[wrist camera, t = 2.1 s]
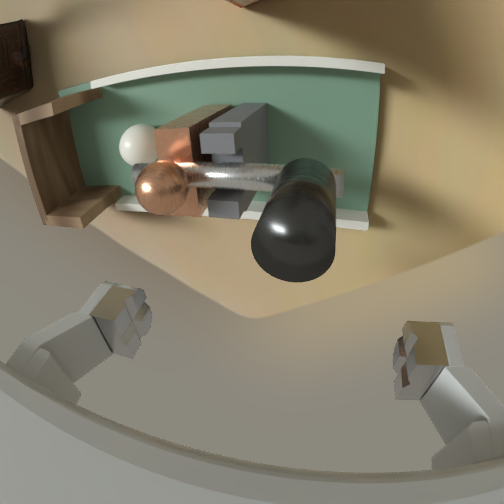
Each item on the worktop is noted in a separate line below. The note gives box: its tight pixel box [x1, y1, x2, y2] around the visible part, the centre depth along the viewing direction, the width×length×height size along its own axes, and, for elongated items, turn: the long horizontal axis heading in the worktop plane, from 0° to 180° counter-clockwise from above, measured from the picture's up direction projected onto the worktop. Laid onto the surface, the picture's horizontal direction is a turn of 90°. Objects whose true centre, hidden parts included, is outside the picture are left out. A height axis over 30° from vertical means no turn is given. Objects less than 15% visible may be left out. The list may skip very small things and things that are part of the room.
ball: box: [119, 124, 158, 166], centre depth 26 cm, size 4×4×4 cm
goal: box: [13, 87, 122, 228], centre depth 26 cm, size 7×12×7 cm, turn 3°
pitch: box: [58, 56, 385, 231], centre depth 23 cm, size 32×14×10 cm, turn 93°
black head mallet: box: [131, 104, 344, 282], centre depth 19 cm, size 13×6×15 cm, turn 93°
